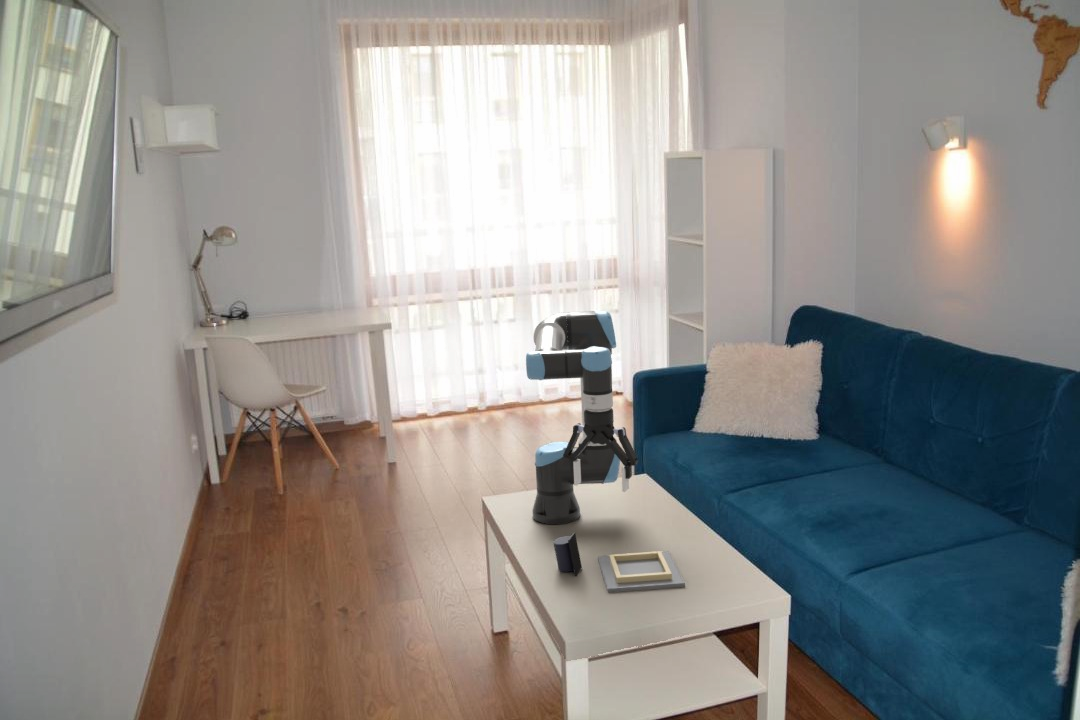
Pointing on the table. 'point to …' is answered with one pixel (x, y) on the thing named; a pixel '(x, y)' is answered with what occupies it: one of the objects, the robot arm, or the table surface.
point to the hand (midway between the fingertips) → (601, 487)
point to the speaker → (567, 554)
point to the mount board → (640, 571)
